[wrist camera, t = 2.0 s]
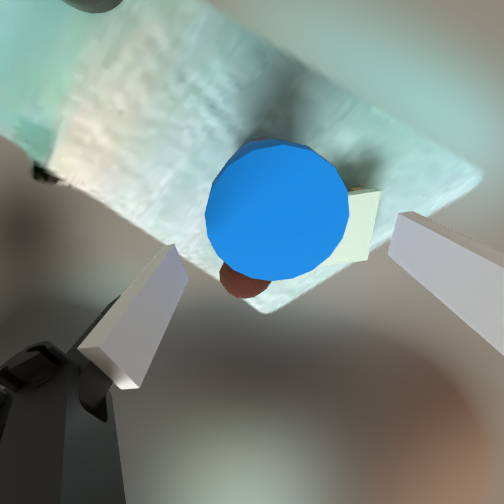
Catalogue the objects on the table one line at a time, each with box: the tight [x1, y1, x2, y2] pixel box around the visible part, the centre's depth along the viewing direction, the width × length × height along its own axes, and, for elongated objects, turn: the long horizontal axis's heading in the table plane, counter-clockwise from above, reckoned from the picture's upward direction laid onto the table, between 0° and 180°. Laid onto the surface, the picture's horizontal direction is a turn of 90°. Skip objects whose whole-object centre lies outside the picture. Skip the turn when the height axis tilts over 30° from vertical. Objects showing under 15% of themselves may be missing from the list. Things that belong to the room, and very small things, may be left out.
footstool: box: [318, 187, 381, 266], centre depth 38 cm, size 14×14×6 cm
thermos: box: [205, 138, 350, 281], centre depth 24 cm, size 11×11×25 cm
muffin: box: [219, 262, 271, 299], centre depth 41 cm, size 12×11×10 cm
